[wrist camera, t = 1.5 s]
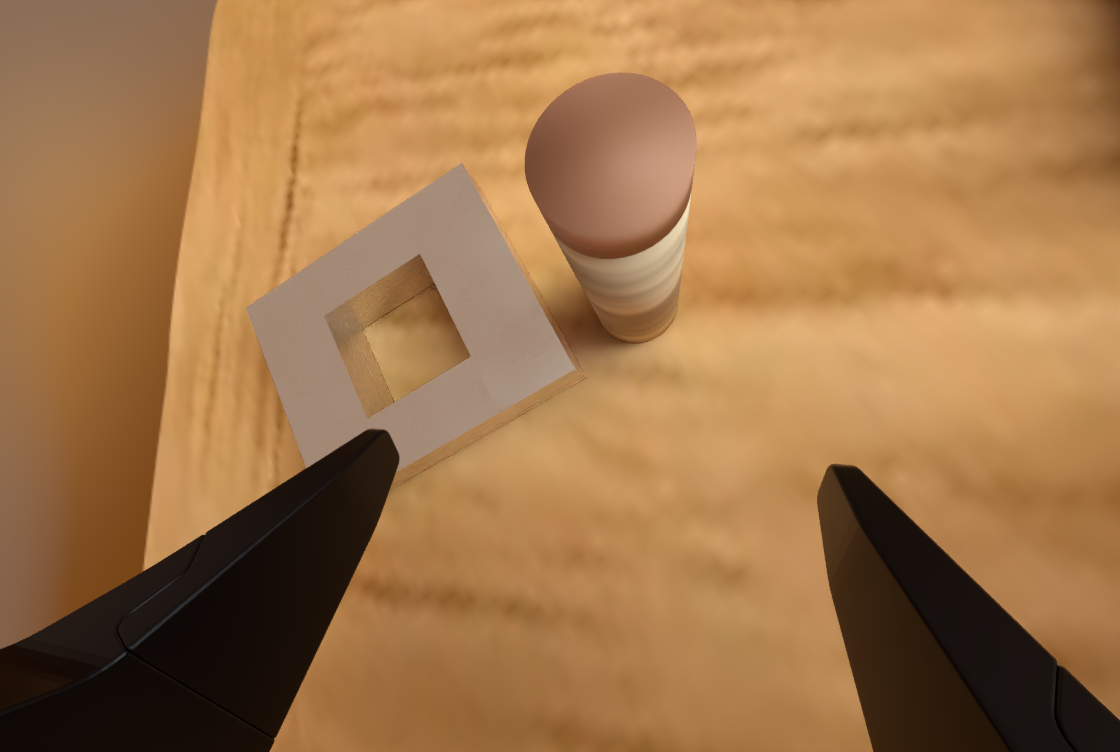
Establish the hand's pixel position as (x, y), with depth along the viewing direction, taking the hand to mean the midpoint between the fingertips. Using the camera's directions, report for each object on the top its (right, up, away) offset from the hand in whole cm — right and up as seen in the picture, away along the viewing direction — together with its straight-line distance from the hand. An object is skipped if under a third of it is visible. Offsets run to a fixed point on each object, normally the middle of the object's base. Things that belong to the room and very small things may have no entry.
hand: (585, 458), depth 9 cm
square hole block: (-8, +3, +16) cm, 18 cm away
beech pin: (+3, +5, +13) cm, 15 cm away
